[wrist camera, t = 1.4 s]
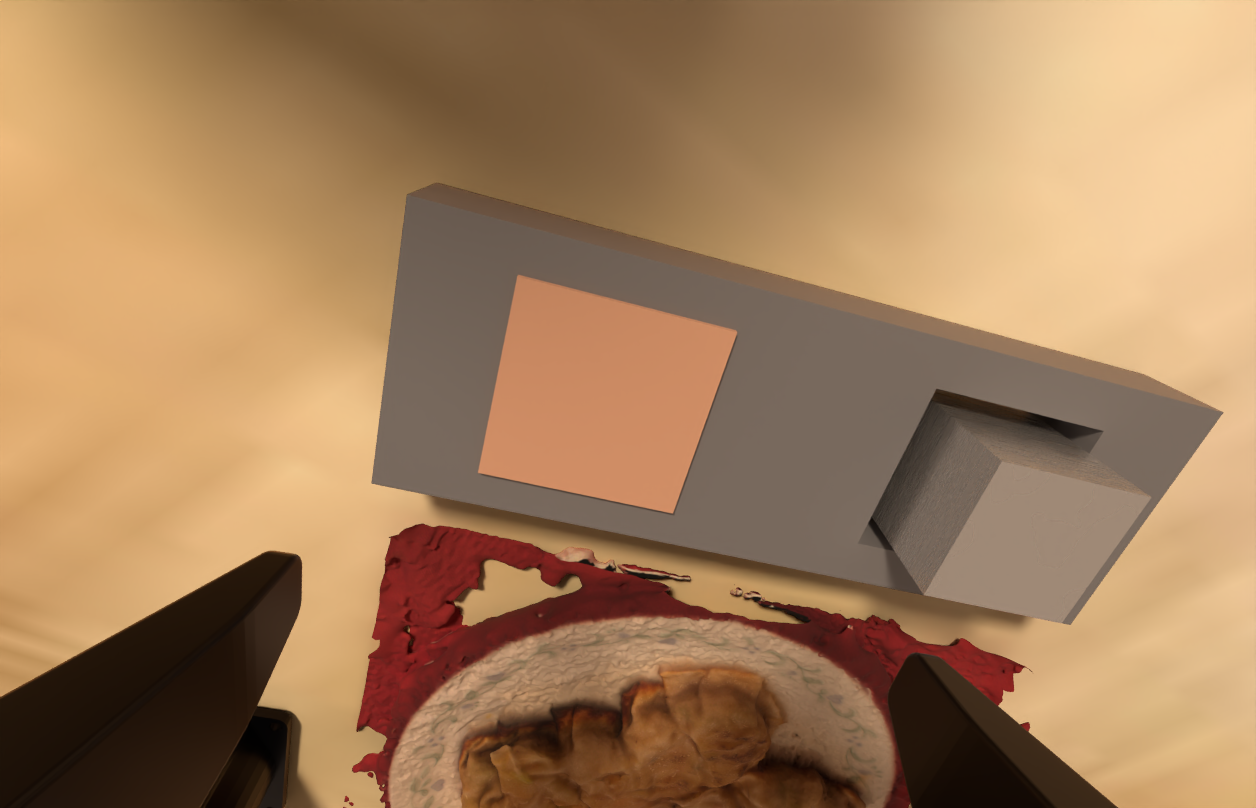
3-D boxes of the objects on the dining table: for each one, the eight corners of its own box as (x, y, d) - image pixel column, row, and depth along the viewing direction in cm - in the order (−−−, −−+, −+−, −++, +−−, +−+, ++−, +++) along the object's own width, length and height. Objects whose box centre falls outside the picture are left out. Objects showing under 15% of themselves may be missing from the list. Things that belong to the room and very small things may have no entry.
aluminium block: (956, 505, 24) (1061, 623, 18) (848, 481, 23) (923, 594, 18) (1015, 402, 22) (1151, 497, 16) (900, 372, 21) (1001, 461, 16)
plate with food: (408, 491, 23) (375, 551, 20) (1014, 642, 27) (1066, 712, 24) (337, 860, 33) (307, 939, 30) (789, 937, 36) (805, 1015, 33)
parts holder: (1019, 569, 25) (1074, 629, 22) (401, 437, 22) (369, 487, 19) (1144, 374, 22) (1229, 415, 19) (436, 182, 18) (404, 195, 15)
